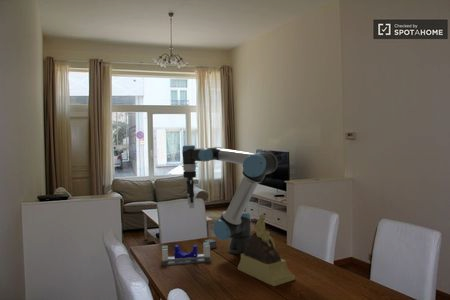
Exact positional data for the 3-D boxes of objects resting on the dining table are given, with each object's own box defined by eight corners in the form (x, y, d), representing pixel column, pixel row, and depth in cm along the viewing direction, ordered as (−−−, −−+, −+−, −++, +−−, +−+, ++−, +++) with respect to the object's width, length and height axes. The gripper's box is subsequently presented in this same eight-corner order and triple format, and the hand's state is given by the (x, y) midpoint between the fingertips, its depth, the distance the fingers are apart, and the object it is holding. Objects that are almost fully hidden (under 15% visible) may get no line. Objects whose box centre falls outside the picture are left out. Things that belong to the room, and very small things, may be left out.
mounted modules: (208, 252, 220) (208, 241, 220) (210, 256, 213) (209, 244, 213) (162, 256, 216) (161, 245, 216) (162, 260, 209) (161, 248, 209)
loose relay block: (211, 245, 242) (211, 239, 242) (216, 247, 237) (216, 241, 237) (204, 246, 240) (204, 240, 240) (209, 249, 235) (208, 242, 235)
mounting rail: (208, 255, 222) (208, 251, 222) (210, 261, 210) (210, 258, 210) (162, 258, 218) (162, 255, 218) (162, 265, 206) (162, 262, 206)
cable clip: (174, 258, 213) (174, 247, 212) (176, 255, 217) (176, 244, 217) (195, 258, 211) (195, 247, 211) (197, 255, 215) (197, 245, 215)
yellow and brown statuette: (294, 279, 180) (292, 216, 179) (273, 286, 173) (271, 220, 172) (257, 264, 204) (255, 207, 203) (237, 269, 197) (235, 211, 196)
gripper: (182, 169, 243) (183, 203, 244) (184, 173, 219) (186, 210, 220) (193, 168, 245) (195, 202, 245) (197, 172, 220) (199, 209, 221)
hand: (191, 206), depth 233 cm, fingers open, 13 cm apart
